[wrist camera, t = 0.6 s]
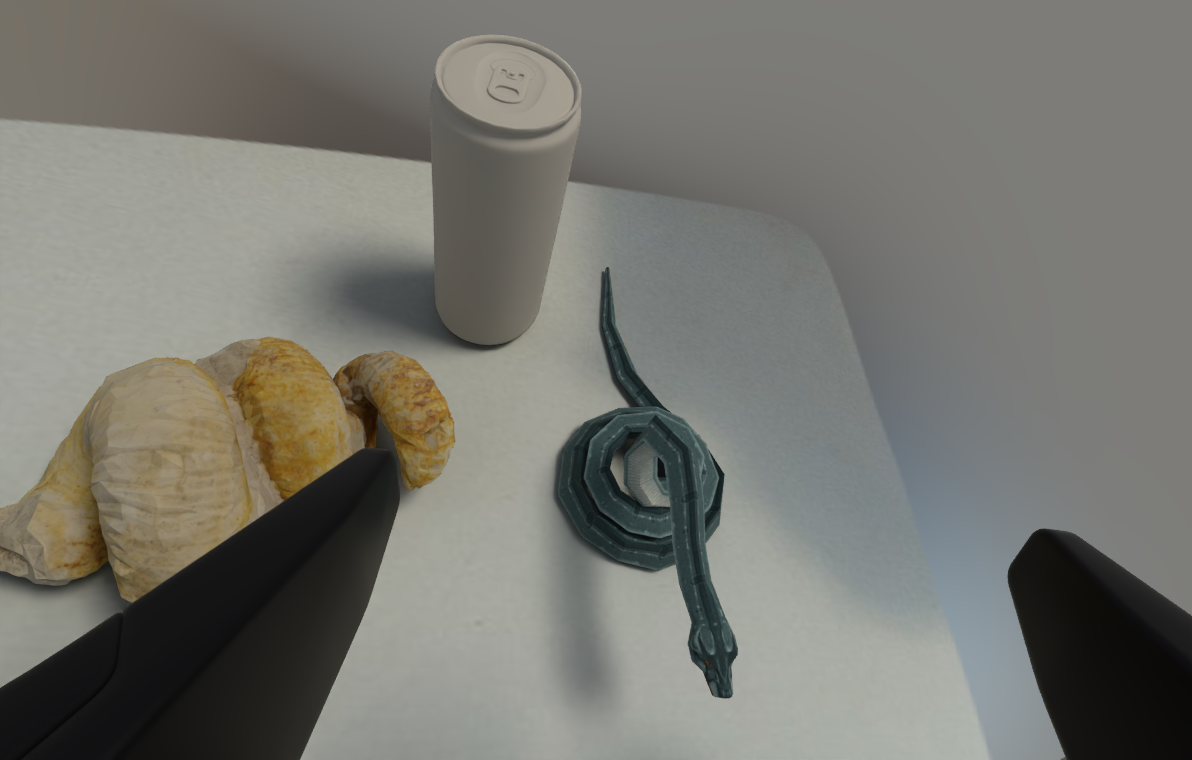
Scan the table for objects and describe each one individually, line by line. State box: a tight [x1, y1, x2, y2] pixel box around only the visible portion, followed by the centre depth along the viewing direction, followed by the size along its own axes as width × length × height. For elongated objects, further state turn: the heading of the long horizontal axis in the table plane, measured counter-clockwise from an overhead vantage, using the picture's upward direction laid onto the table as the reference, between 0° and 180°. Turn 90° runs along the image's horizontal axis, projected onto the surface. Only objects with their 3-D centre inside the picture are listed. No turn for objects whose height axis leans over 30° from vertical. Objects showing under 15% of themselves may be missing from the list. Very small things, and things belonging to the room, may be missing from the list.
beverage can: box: [430, 35, 581, 345], centre depth 25 cm, size 5×5×12 cm
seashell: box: [0, 337, 455, 603], centre depth 21 cm, size 10×6×15 cm
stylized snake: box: [558, 267, 738, 698], centre depth 25 cm, size 7×20×6 cm, turn 10°
